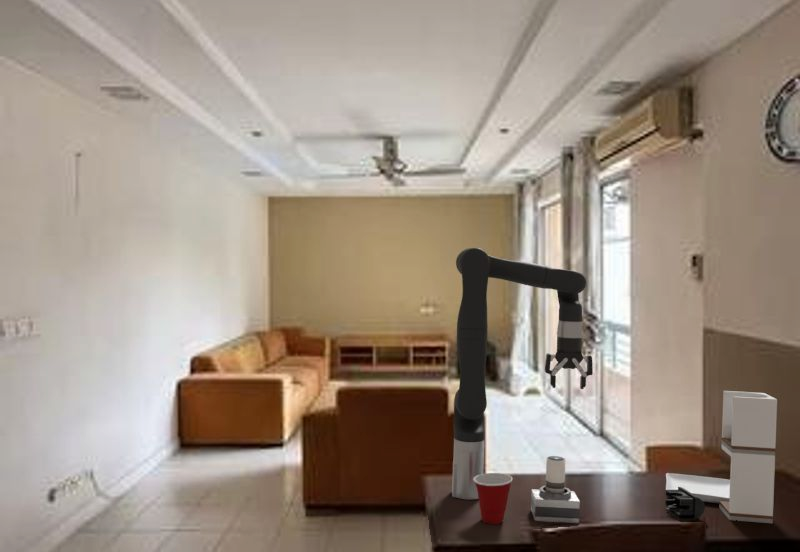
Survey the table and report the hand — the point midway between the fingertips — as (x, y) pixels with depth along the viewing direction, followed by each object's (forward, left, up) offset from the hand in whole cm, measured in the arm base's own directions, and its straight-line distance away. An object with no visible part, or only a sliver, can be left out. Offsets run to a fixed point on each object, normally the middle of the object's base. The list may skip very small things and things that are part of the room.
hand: (567, 388), depth 222 cm
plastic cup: (-24, -26, -33) cm, 49 cm away
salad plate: (+44, +8, -34) cm, 56 cm away
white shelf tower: (+50, -11, -33) cm, 61 cm away
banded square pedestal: (-6, -20, -33) cm, 39 cm away
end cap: (+32, -13, -33) cm, 48 cm away
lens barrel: (-6, -20, -27) cm, 34 cm away
